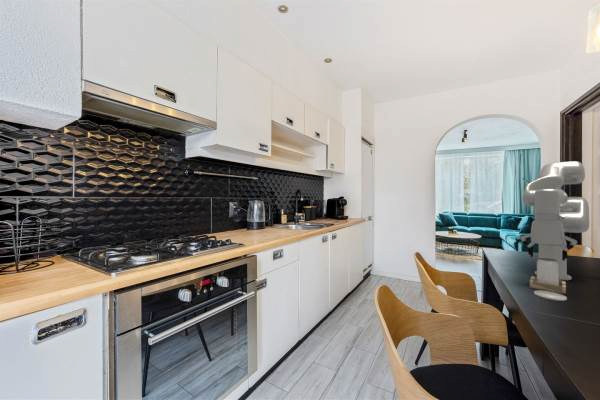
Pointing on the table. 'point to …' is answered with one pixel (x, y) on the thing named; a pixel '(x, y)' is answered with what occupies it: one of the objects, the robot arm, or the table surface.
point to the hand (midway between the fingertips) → (547, 258)
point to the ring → (548, 286)
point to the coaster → (550, 295)
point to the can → (547, 271)
